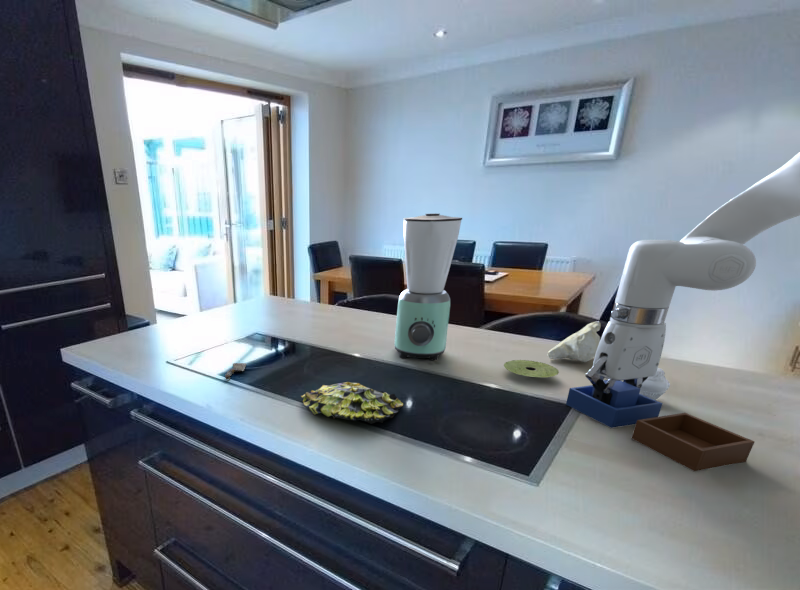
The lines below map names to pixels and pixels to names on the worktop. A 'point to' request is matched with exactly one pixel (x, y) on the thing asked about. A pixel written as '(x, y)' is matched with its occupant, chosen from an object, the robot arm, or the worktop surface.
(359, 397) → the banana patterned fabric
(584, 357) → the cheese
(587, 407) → the blue bin
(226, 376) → the meat cleaver
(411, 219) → the blender
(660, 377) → the muffin
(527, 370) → the green disc
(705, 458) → the brown bin
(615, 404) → the blue block
